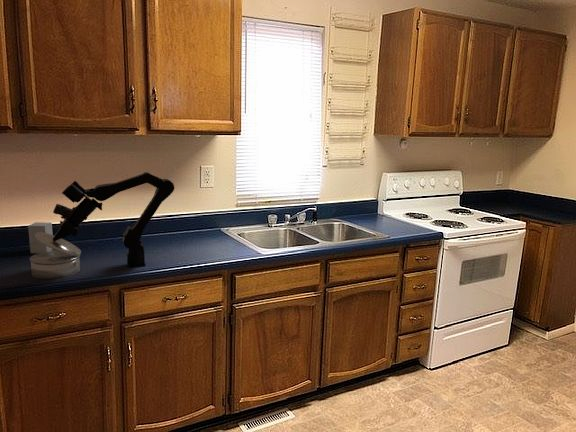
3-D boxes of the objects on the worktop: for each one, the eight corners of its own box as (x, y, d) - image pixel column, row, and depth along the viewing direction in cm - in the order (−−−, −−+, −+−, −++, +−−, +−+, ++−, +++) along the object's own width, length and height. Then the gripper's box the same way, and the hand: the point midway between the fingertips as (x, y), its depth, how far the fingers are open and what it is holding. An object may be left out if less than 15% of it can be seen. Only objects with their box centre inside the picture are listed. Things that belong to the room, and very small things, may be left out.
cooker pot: (79, 258, 204) (78, 244, 203) (81, 275, 182) (80, 260, 181) (33, 262, 197) (32, 247, 196) (29, 281, 175) (28, 264, 173)
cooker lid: (79, 248, 196) (80, 246, 196) (80, 260, 181) (82, 257, 181) (35, 230, 188) (36, 228, 188) (33, 241, 173) (34, 238, 173)
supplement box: (54, 249, 217) (52, 222, 214) (46, 253, 209) (44, 225, 207) (37, 249, 216) (35, 221, 214) (29, 253, 209) (27, 225, 207)
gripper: (65, 193, 191) (36, 221, 188) (66, 200, 174) (34, 232, 172) (88, 211, 196) (60, 239, 193) (90, 220, 179) (59, 251, 177)
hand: (53, 240), depth 184 cm, fingers closed
